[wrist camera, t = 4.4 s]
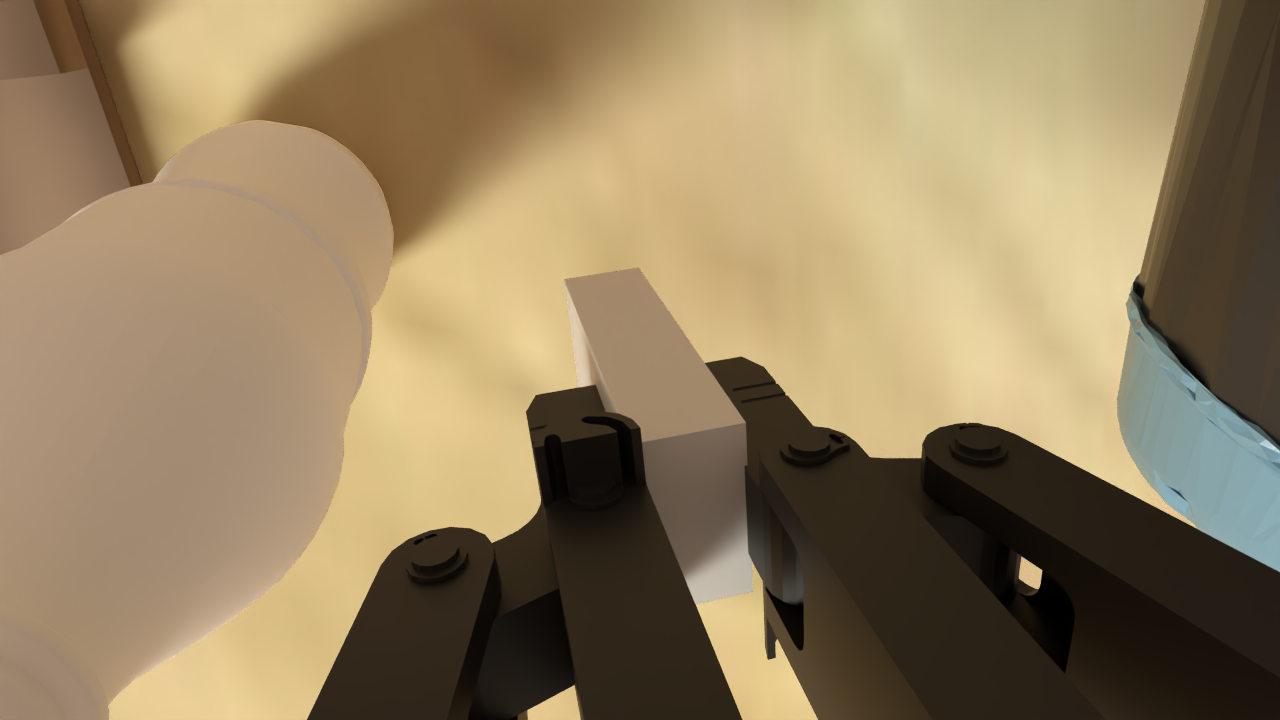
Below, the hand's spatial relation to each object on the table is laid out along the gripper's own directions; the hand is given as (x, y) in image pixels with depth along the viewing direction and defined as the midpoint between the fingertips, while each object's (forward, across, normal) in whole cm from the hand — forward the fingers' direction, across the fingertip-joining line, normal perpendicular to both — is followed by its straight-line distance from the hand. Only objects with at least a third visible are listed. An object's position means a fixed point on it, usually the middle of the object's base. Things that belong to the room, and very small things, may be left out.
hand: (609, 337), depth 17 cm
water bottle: (+16, +9, 0) cm, 18 cm away
